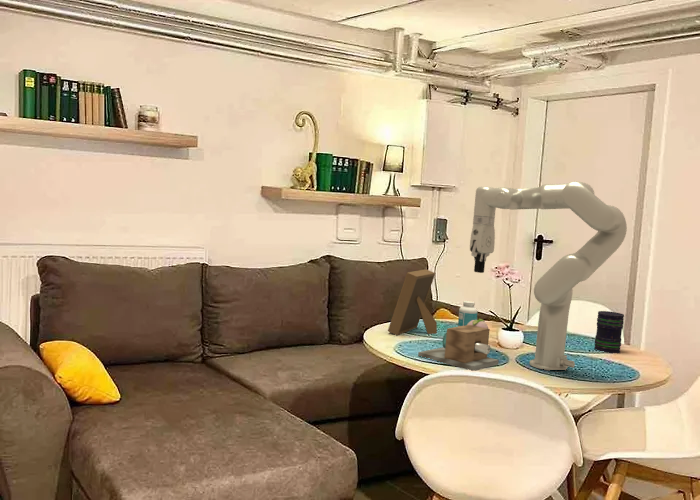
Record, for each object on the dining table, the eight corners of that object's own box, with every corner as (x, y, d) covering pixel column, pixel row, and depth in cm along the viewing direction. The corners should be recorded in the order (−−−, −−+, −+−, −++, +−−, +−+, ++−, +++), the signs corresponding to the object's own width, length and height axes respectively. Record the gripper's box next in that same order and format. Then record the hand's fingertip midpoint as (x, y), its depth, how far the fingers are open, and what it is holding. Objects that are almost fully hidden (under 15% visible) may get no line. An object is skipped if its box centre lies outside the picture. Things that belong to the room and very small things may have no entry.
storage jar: (622, 354, 272) (626, 316, 270) (595, 351, 274) (599, 313, 272) (617, 349, 281) (621, 312, 280) (592, 346, 283) (596, 310, 282)
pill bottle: (478, 334, 290) (481, 302, 289) (471, 337, 283) (474, 304, 282) (461, 331, 294) (464, 299, 292) (454, 334, 287) (457, 301, 286)
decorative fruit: (468, 339, 279) (471, 314, 278) (489, 342, 275) (491, 317, 275) (461, 342, 271) (464, 317, 270) (482, 346, 267) (485, 320, 266)
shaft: (491, 357, 234) (493, 339, 234) (482, 359, 230) (484, 341, 229) (451, 347, 245) (452, 330, 244) (441, 349, 240) (443, 332, 240)
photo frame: (387, 333, 277) (393, 270, 275) (407, 326, 296) (413, 267, 294) (422, 340, 270) (429, 275, 268) (440, 332, 290) (447, 272, 288)
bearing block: (498, 364, 238) (501, 330, 238) (473, 370, 226) (476, 335, 226) (443, 351, 253) (446, 319, 252) (418, 356, 241) (420, 323, 240)
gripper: (482, 222, 244) (477, 274, 245) (503, 222, 255) (498, 273, 257) (463, 220, 249) (458, 271, 250) (485, 221, 260) (480, 270, 261)
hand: (478, 272), depth 253 cm, fingers closed
